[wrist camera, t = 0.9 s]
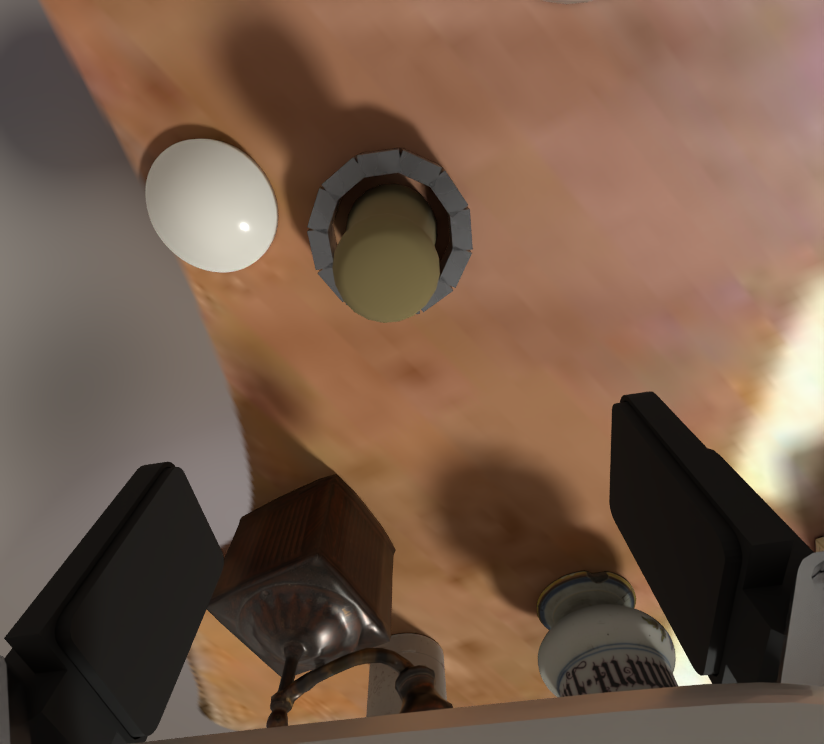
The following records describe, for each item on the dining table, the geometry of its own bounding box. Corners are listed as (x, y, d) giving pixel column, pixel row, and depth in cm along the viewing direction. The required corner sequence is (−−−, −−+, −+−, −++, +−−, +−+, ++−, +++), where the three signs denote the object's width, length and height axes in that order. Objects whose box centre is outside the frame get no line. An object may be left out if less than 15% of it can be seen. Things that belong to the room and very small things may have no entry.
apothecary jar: (654, 558, 46) (788, 790, 30) (634, 637, 51) (738, 870, 35) (528, 564, 46) (593, 798, 30) (522, 643, 51) (574, 876, 35)
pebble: (131, 148, 29) (124, 149, 28) (259, 129, 29) (255, 129, 28) (177, 276, 33) (172, 279, 32) (291, 261, 32) (289, 264, 32)
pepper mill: (308, 588, 47) (258, 825, 31) (238, 515, 43) (137, 747, 27) (448, 531, 44) (473, 763, 28) (388, 445, 39) (376, 663, 23)
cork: (333, 197, 31) (299, 230, 21) (425, 172, 30) (434, 194, 20) (361, 286, 33) (342, 353, 23) (446, 264, 33) (463, 324, 23)
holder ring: (300, 161, 30) (292, 164, 27) (460, 138, 29) (465, 140, 27) (333, 312, 34) (328, 324, 32) (471, 294, 34) (476, 306, 31)
